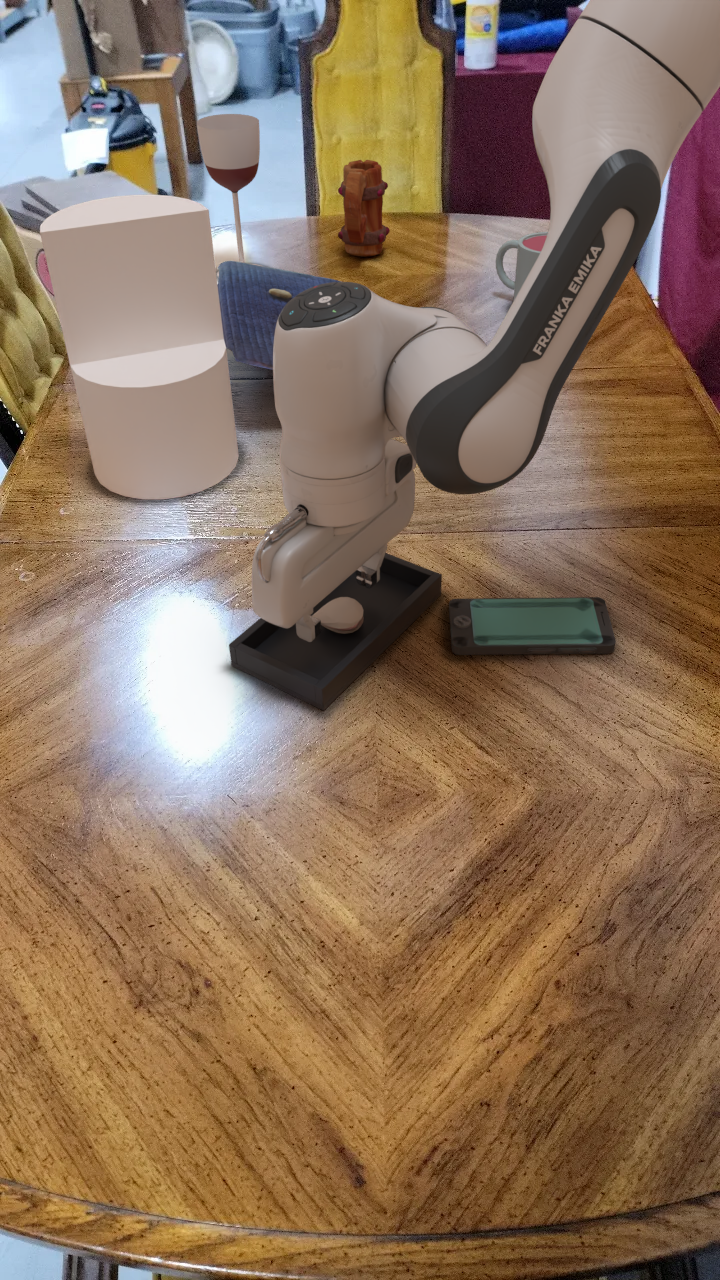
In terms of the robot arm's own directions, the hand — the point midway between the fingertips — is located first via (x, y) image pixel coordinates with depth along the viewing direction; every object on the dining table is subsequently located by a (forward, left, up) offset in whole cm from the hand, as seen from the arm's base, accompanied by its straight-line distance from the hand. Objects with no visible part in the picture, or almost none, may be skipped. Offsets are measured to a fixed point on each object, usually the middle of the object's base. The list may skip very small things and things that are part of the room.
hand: (339, 608), depth 93 cm
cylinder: (+36, -14, -3) cm, 39 cm away
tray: (0, 0, -2) cm, 2 cm away
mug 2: (+21, -79, -3) cm, 82 cm away
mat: (+40, -47, -3) cm, 62 cm away
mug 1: (+55, -82, -3) cm, 99 cm away
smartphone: (-15, -10, -3) cm, 18 cm away
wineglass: (+68, -66, -3) cm, 95 cm away
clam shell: (0, 0, -2) cm, 2 cm away
